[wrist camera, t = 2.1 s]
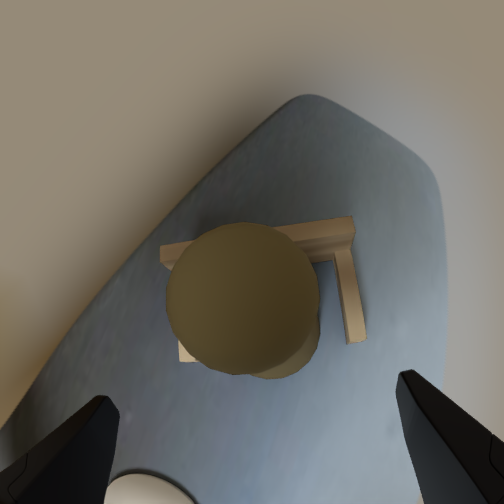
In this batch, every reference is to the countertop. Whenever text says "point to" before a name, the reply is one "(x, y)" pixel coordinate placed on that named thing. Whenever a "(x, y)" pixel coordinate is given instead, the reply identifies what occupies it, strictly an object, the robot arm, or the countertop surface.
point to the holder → (317, 250)
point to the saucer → (144, 491)
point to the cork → (245, 301)
